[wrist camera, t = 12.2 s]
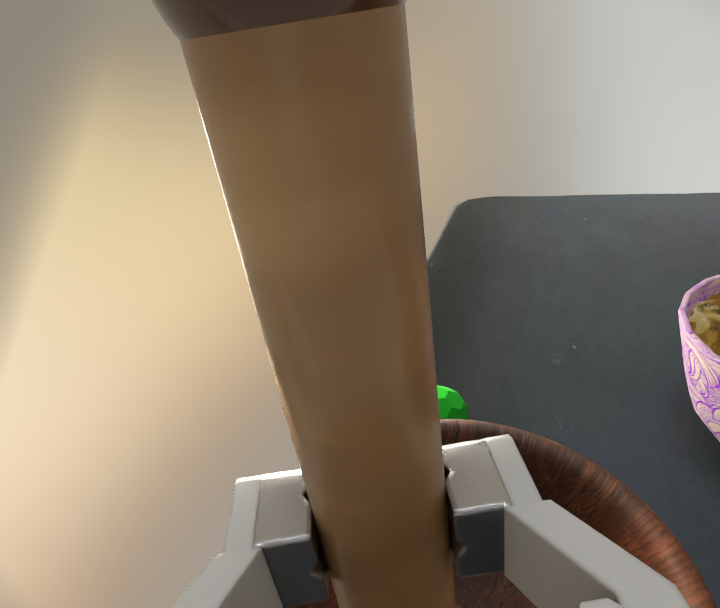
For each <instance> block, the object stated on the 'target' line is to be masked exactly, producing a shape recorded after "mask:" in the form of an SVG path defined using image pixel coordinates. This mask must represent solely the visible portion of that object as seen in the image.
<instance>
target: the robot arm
mask: <svg viewBox="0 0 720 608" xmlns="http://www.w3.org/2000/svg"><path fill="white" fill-rule="evenodd" d="M442 450H443V461H444V473H445V487H446V499H447V510H448V520H449V534H450V546H451V550H452V554H453V558H454V561H455V565H456V569H457V572H458V576H459V578H466V577H473V576H481V575H488V574H496V573H503V572H504V575H505V576H506V577H507V578H508V579H509V580H510V581H511V582H512V583H513V584H514V585H515V586H516V587H517V588H518V589H519V590H520V591H521V592H522V593H523V594H524V595H525V596H526V597H527V598H528V599H529V600H530V601H531V602H532V603H533V604H534V605H535V606H536V607H537V608H690V607H689V605H688V603H687V602H686V600H685V599H684V597H683V596H682V594H681V592H680V591H679V589H678V588H677V586H676V585H675V584H674V583H672V582H671V581H669V580H668V579H666V578H665V577H663V576H662V575H661V574H659V573H658V572H656V571H655V570H653V569H652V568H650V567H649V566H647V565H646V564H644V563H643V562H641V561H640V560H639V559H637V558H636V557H634V556H633V555H631V554H630V553H628V552H627V551H625V550H624V549H622V548H621V547H619V546H618V545H617V544H615V543H614V542H612V541H611V540H609V539H608V538H606V537H605V536H603V535H602V534H600V533H599V532H597V531H596V530H594V529H593V528H592V527H590V526H589V525H587V524H586V523H584V522H583V521H581V520H580V519H578V518H577V517H575V516H574V515H572V514H571V513H570V512H568V511H567V510H565V509H564V508H562V507H561V506H559V505H558V504H556V503H555V502H553V501H552V500H544V501H543V500H542V498H541V496H540V494H539V492H538V490H537V488H536V486H535V484H534V482H533V480H532V478H531V476H530V473H529V471H528V469H527V467H526V465H525V463H524V461H523V459H522V457H521V455H520V453H519V451H518V449H517V447H516V445H515V443H514V440H513V438H512V437H511V436H510V435H509V434H506V435H500V436H494V437H489V438H484V439H477V440H471V441H465V442H460V443H454V444H448V445H442ZM326 600H329V576H328V566H327V563H326V559H325V555H324V552H323V548H322V545H321V541H320V538H319V534H318V531H317V527H316V523H315V520H314V516H313V513H312V509H311V506H310V502H309V498H308V495H307V491H306V488H305V484H304V481H303V477H302V474H301V470H300V469H299V470H291V471H284V472H277V473H270V474H263V475H259V476H253V477H245V478H238V479H237V481H236V483H235V485H234V489H233V495H232V500H231V506H230V512H229V518H228V524H227V530H226V535H225V541H224V547H223V553H222V554H217V555H214V556H213V558H212V559H211V560H210V562H209V563H208V564H207V565H206V567H205V568H204V569H203V570H202V571H201V573H200V574H199V575H198V576H197V578H196V579H195V580H194V582H193V583H192V584H191V585H190V586H189V588H188V589H187V590H186V591H185V593H184V594H183V595H182V596H181V598H180V599H179V600H178V602H177V603H176V604H175V605H174V606H173V608H290V607H296V606H301V605H306V604H311V603H316V602H321V601H326Z"/></svg>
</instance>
